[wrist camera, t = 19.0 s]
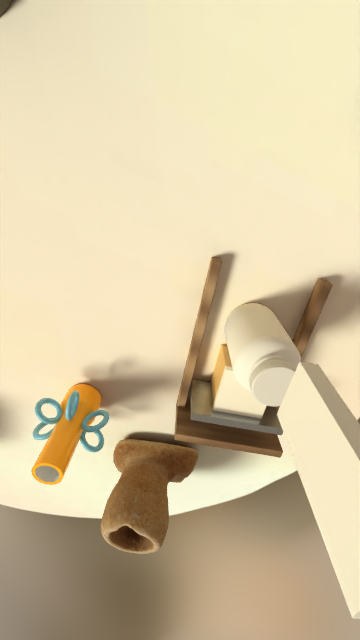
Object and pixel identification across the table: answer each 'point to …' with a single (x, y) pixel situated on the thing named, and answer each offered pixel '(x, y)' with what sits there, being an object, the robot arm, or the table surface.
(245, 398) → the cream cube
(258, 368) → the pill bottle
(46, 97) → the table surface
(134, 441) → the brown felt boot
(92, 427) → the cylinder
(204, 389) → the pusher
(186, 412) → the lane
